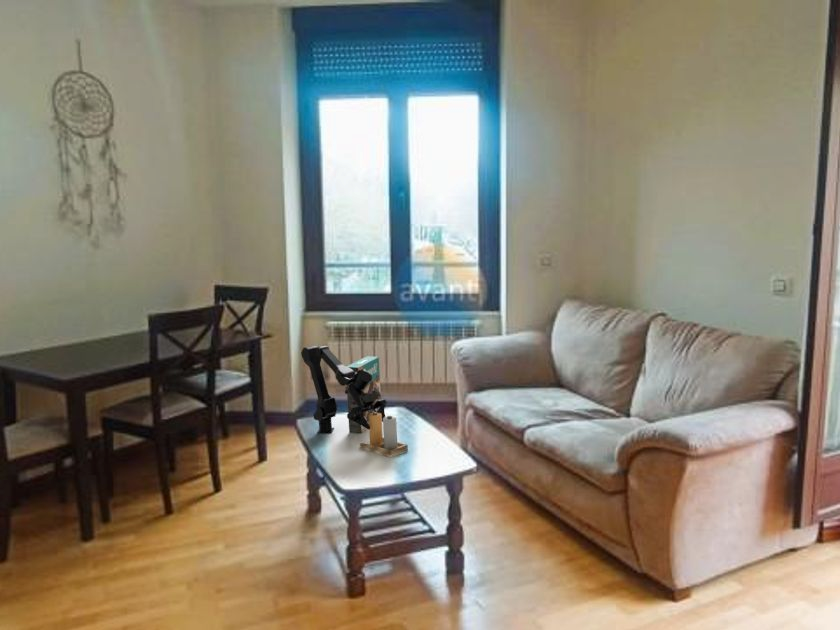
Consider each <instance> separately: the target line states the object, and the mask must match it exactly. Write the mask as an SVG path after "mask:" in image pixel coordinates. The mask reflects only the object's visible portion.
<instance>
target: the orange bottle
mask: <svg viewBox="0 0 840 630" xmlns="http://www.w3.org/2000/svg"><path fill="white" fill-rule="evenodd" d="M369 426H370V429H369V430H368V431H369V434H368V435H369V442H370V445H373V446H377V445H379V444H382V443H383V438H384V435H383V422H382V414H381V413H377V412H373V413H370V414H369Z"/></svg>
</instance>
